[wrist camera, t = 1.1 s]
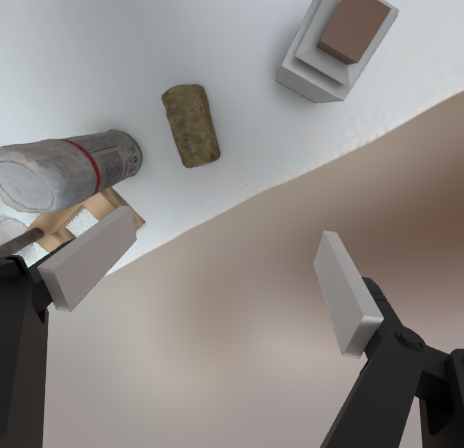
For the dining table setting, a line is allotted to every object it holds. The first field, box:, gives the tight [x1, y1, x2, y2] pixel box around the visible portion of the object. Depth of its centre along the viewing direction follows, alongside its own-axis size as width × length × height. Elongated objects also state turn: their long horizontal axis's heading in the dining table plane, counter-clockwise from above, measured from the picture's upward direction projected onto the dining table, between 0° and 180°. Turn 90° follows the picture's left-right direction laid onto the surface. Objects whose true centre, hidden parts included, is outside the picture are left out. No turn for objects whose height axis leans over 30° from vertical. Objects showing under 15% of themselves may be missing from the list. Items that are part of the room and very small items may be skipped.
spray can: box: [0, 130, 142, 214], centre depth 32 cm, size 8×8×20 cm
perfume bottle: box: [275, 0, 400, 103], centre depth 23 cm, size 7×7×18 cm
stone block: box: [161, 84, 220, 168], centre depth 35 cm, size 6×12×5 cm, turn 14°
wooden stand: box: [0, 187, 145, 258], centre depth 41 cm, size 14×22×18 cm, turn 128°
